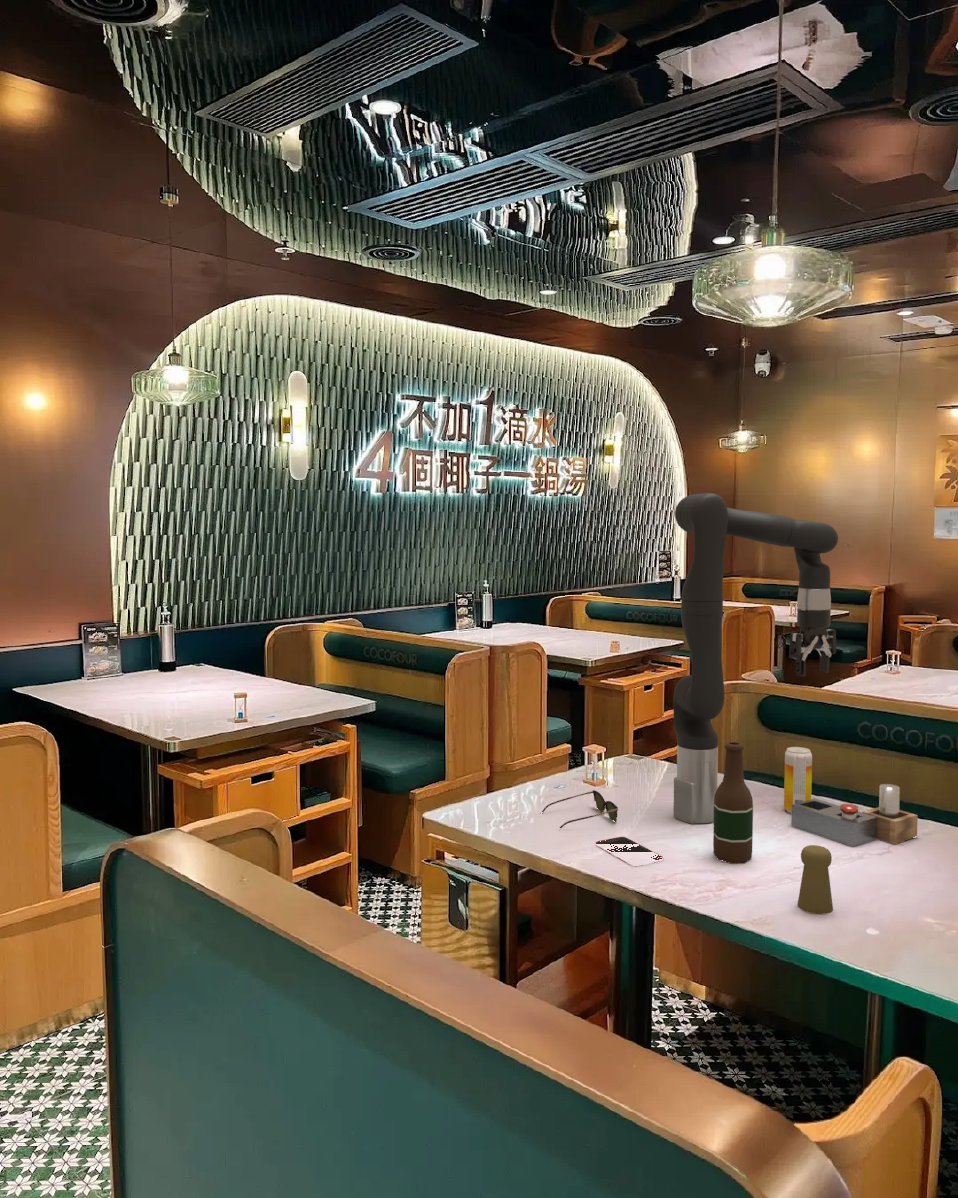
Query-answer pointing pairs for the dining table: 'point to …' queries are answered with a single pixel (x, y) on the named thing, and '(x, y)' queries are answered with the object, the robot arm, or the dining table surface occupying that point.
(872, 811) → the wooden hollow square frame
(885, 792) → the gray round-topped cylinder
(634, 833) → the dining table surface
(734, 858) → the beer bottle
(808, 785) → the beer can
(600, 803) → the sunglasses
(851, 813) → the copper-capped cylinder
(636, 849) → the cell phone
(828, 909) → the olive knobbed peg
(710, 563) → the robot arm
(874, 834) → the socket block
